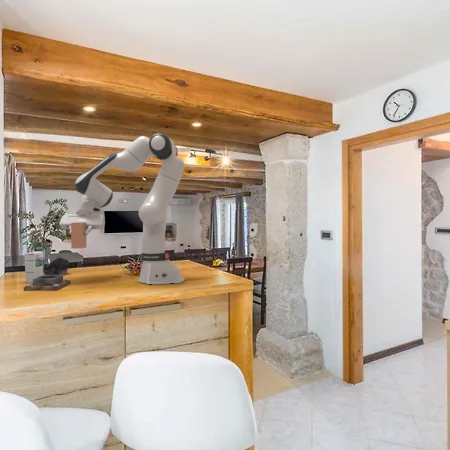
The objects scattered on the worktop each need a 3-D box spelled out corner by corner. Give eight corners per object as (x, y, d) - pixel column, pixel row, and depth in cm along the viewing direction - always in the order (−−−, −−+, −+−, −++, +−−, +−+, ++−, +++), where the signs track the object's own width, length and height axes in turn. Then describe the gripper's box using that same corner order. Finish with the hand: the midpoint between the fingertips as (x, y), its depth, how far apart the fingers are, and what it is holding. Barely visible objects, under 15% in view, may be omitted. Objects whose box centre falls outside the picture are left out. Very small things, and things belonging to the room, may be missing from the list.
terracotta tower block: (86, 247, 152) (86, 222, 152) (82, 248, 147) (82, 222, 147) (75, 247, 152) (75, 222, 152) (71, 248, 147) (71, 222, 147)
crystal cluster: (34, 277, 168) (34, 259, 167) (53, 271, 181) (53, 254, 180) (56, 281, 165) (56, 262, 164) (74, 274, 178) (74, 256, 177)
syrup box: (35, 283, 152) (35, 252, 151) (24, 282, 153) (24, 252, 152) (44, 280, 157) (44, 251, 157) (34, 280, 158) (33, 250, 158)
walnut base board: (70, 283, 151) (70, 274, 151) (57, 290, 137) (57, 280, 137) (40, 283, 150) (40, 274, 150) (23, 290, 136) (23, 280, 136)
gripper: (62, 208, 155) (53, 229, 146) (105, 209, 157) (98, 230, 147) (66, 217, 160) (57, 238, 151) (108, 218, 161) (102, 238, 152)
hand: (78, 234), depth 149 cm, fingers closed on terracotta tower block, 5 cm apart
